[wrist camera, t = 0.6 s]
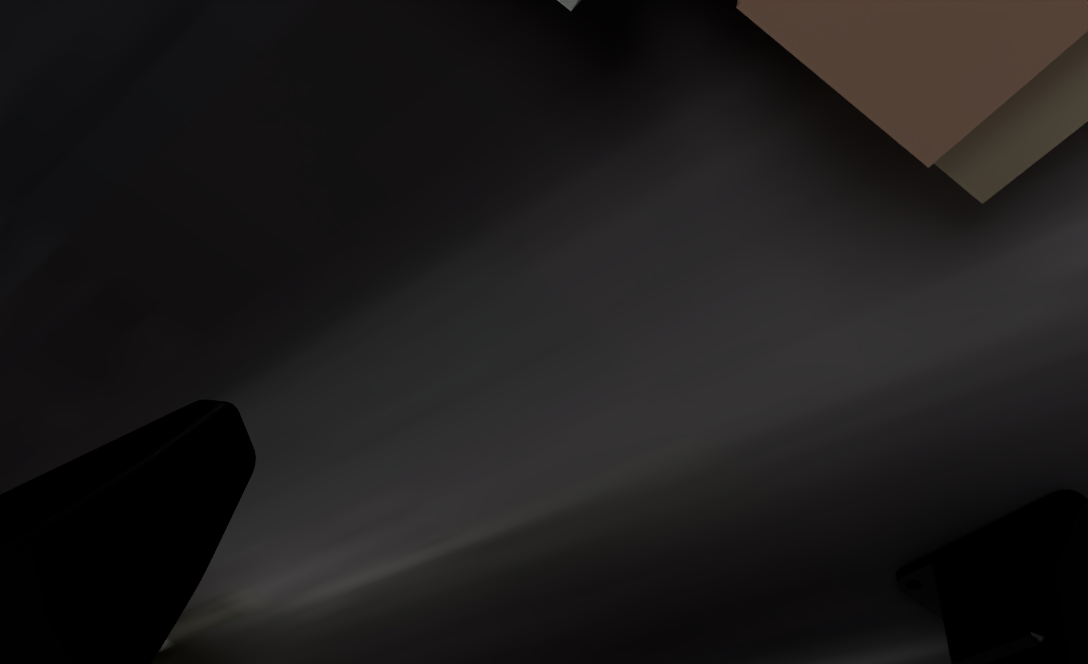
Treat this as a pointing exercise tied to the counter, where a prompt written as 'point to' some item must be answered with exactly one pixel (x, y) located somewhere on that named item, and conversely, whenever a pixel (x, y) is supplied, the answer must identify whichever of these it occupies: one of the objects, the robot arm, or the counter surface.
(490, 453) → the counter surface
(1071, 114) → the tan flat block
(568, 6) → the tray
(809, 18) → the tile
